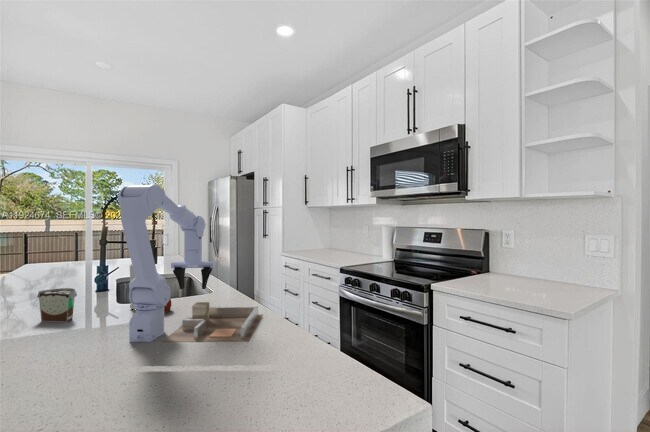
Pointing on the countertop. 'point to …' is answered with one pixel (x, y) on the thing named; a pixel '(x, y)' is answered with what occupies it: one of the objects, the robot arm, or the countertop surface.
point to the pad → (223, 333)
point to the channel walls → (201, 324)
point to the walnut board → (212, 325)
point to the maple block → (200, 310)
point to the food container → (57, 304)
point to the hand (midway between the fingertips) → (193, 288)
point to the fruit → (167, 306)
